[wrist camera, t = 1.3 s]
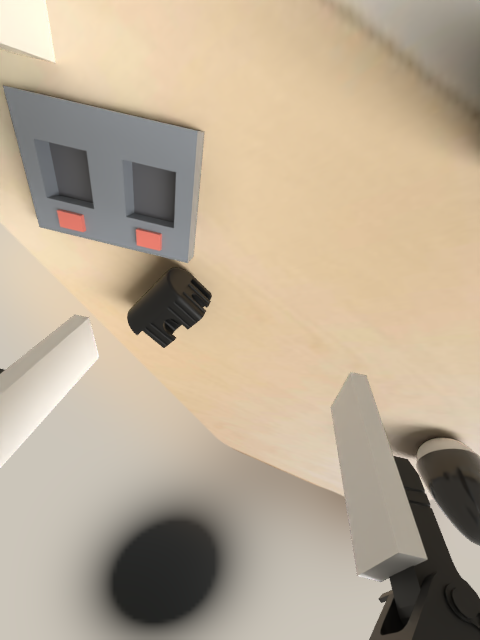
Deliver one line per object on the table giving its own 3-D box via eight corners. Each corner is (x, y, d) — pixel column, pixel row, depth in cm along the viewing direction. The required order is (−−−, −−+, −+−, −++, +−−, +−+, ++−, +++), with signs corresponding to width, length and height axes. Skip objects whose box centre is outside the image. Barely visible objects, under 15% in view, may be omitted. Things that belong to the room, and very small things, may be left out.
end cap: (179, 258, 36) (160, 278, 30) (215, 293, 38) (203, 318, 33) (141, 297, 41) (118, 321, 35) (175, 326, 43) (158, 353, 37)
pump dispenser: (461, 462, 51) (518, 564, 39) (403, 458, 53) (439, 553, 41) (480, 431, 46) (553, 538, 33) (415, 428, 48) (460, 527, 35)
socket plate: (23, 89, 28) (-3, 84, 25) (204, 132, 27) (195, 130, 25) (53, 222, 36) (35, 228, 33) (193, 256, 35) (186, 264, 33)
